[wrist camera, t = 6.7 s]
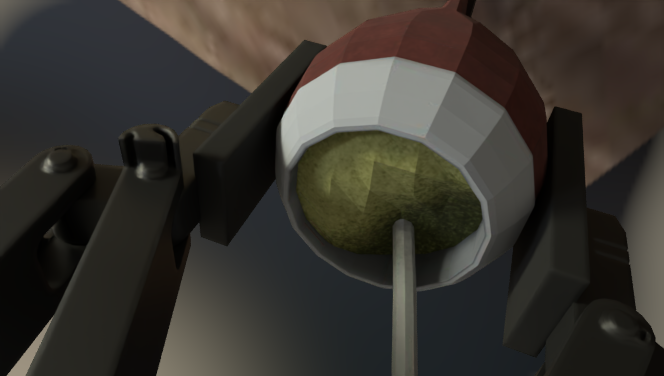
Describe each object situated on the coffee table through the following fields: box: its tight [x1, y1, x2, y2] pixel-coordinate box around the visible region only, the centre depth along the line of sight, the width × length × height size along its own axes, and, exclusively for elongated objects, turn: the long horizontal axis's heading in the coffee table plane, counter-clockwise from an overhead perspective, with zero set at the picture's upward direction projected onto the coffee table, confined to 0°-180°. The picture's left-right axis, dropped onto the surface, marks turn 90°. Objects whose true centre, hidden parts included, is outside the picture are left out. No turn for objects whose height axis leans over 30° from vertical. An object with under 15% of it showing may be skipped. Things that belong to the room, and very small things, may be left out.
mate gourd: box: [275, 0, 548, 376], centre depth 12 cm, size 8×8×15 cm
